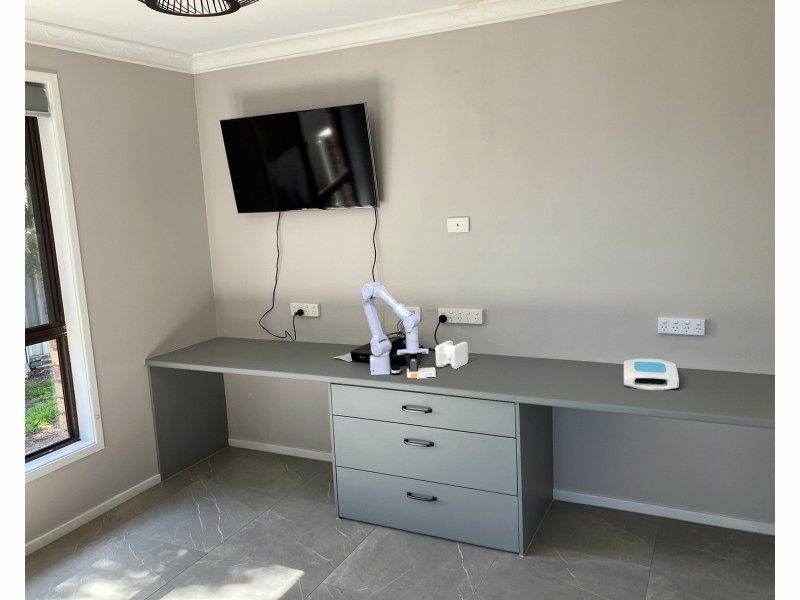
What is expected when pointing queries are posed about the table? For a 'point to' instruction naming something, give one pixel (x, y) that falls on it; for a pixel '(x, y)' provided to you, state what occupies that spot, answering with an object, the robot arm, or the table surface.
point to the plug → (413, 365)
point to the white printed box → (421, 373)
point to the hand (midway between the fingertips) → (413, 368)
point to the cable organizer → (451, 354)
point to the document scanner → (650, 373)
